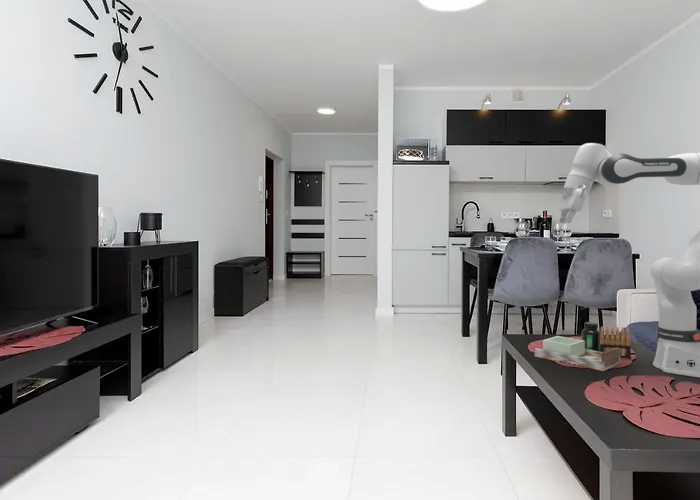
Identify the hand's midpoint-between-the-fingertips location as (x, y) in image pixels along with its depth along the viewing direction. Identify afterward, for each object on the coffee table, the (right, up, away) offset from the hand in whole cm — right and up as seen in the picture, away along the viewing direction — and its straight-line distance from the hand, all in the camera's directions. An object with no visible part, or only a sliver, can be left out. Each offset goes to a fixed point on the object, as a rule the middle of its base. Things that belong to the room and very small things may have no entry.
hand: (564, 222), depth 176 cm
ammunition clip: (+23, -52, +9) cm, 57 cm away
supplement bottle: (+18, -51, +16) cm, 57 cm away
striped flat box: (+7, -52, +7) cm, 53 cm away
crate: (+4, -50, +10) cm, 51 cm away
